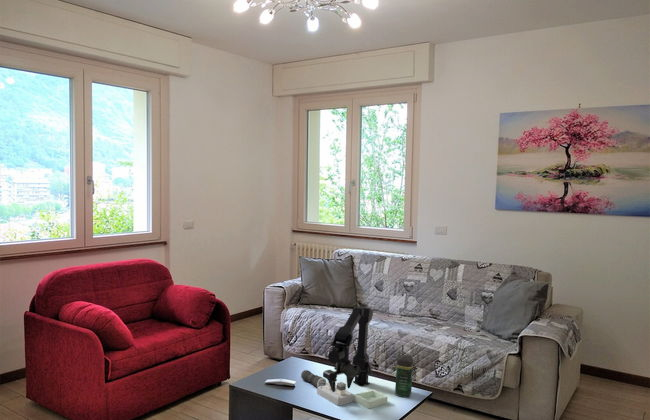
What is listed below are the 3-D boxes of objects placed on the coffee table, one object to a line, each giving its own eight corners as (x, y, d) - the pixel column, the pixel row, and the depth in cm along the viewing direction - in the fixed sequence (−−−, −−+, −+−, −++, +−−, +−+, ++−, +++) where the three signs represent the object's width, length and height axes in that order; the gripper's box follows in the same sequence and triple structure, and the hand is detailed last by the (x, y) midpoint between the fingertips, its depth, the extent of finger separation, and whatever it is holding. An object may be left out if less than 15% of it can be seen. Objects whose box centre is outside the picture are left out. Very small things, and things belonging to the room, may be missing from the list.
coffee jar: (410, 398, 244) (412, 360, 243) (393, 396, 246) (395, 358, 246) (412, 391, 253) (414, 355, 252) (396, 389, 255) (398, 352, 255)
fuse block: (333, 389, 251) (333, 382, 250) (354, 400, 238) (354, 393, 238) (316, 393, 244) (317, 386, 244) (337, 405, 232) (337, 398, 232)
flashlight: (299, 380, 261) (300, 369, 261) (308, 378, 265) (308, 368, 264) (317, 390, 249) (317, 379, 249) (326, 388, 253) (326, 377, 252)
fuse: (330, 392, 246) (331, 381, 246) (334, 394, 244) (335, 383, 244) (325, 394, 245) (326, 382, 244) (329, 396, 242) (330, 384, 242)
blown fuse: (340, 398, 240) (341, 381, 240) (345, 400, 238) (345, 384, 237) (335, 399, 238) (336, 383, 238) (340, 402, 236) (340, 385, 236)
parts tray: (372, 395, 245) (373, 389, 245) (387, 403, 237) (387, 396, 237) (354, 400, 238) (354, 394, 238) (368, 408, 230) (368, 402, 230)
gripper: (338, 365, 225) (336, 400, 226) (368, 359, 237) (367, 391, 237) (323, 358, 234) (321, 391, 235) (353, 352, 245) (351, 384, 246)
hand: (341, 390), depth 238 cm, fingers open, 9 cm apart
